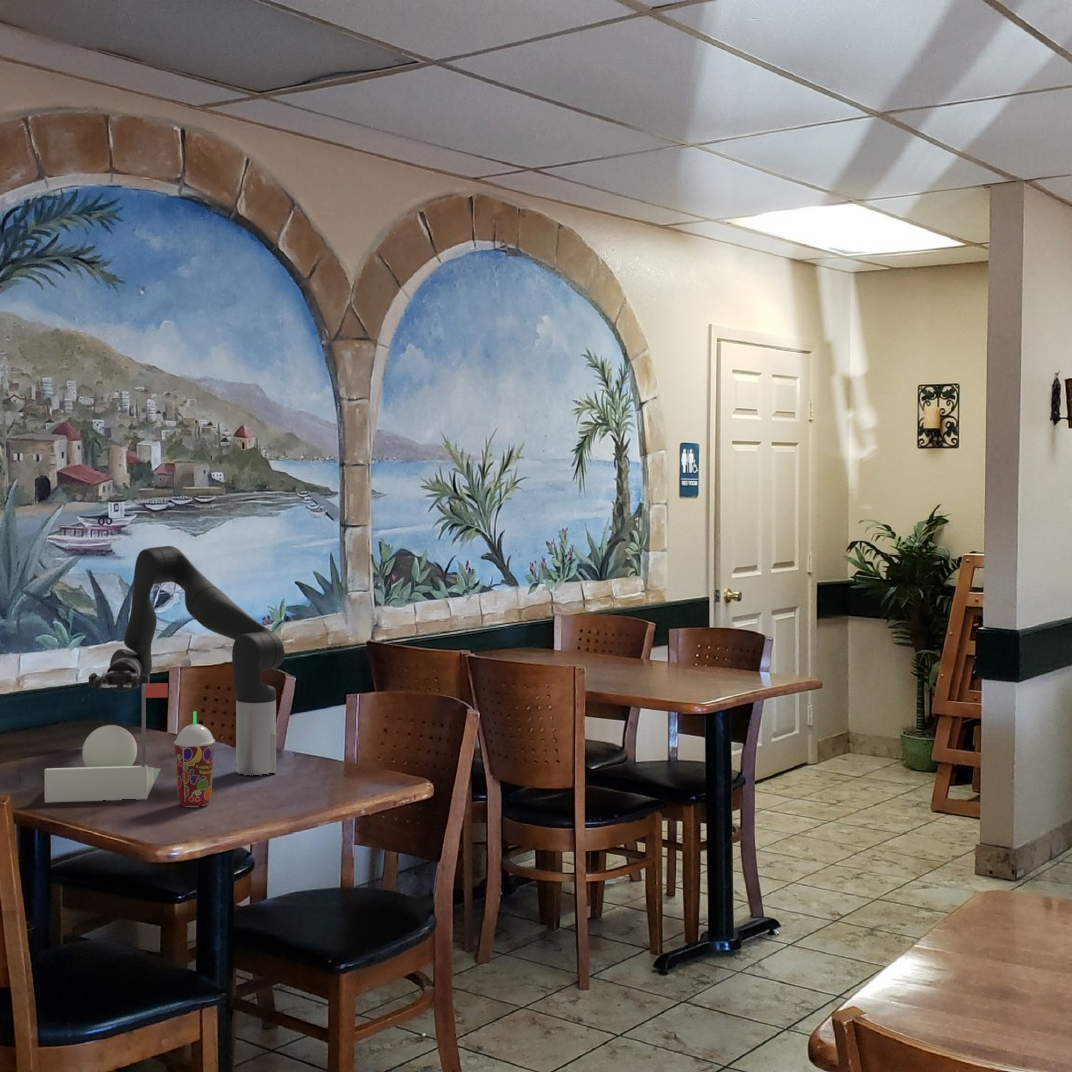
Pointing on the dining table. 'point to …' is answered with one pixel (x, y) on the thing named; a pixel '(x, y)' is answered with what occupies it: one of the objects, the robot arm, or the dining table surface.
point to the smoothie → (194, 764)
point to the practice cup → (106, 772)
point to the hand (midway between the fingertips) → (115, 684)
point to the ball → (109, 747)
